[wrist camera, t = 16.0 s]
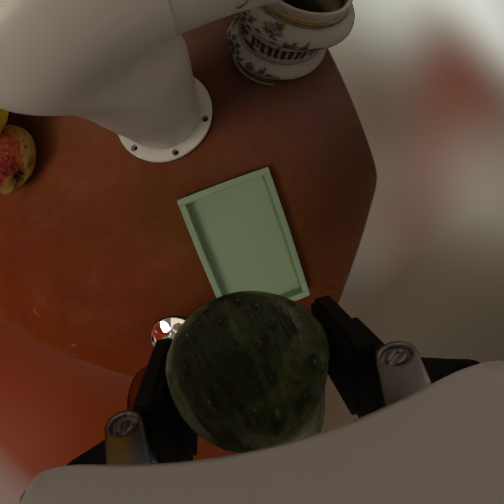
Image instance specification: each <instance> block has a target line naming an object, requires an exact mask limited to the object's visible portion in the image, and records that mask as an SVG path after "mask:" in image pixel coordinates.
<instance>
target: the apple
mask: <svg viewBox="0 0 504 504" xmlns="http://www.w3.org/2000/svg"><path fill="white" fill-rule="evenodd" d="M35 163H36V147H35V144H34V140H33V138H32V136H31V135H30V133H29V132H27V131H26V130H25V129H23V128H21V127H19V126H16V125H5V126H4V128H3V129H2V131H1V133H0V193H1V194H9V193H11V192H13V191H15V190H17V189H18V188H20V187H21V186H22V185H23V184H24V183H25V182H26V181H27V180H28V178H29V177H30V175H31V174H32V172H33V170H34V167H35Z"/></svg>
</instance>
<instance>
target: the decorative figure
mask: <svg viewBox="0 0 504 504" xmlns="http://www.w3.org/2000/svg"><path fill="white" fill-rule="evenodd" d="M8 113H9V111H6V110H3V109H0V133H1V131H2V129H3V128H4V126H5V124H6V122H7V119H8Z"/></svg>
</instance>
